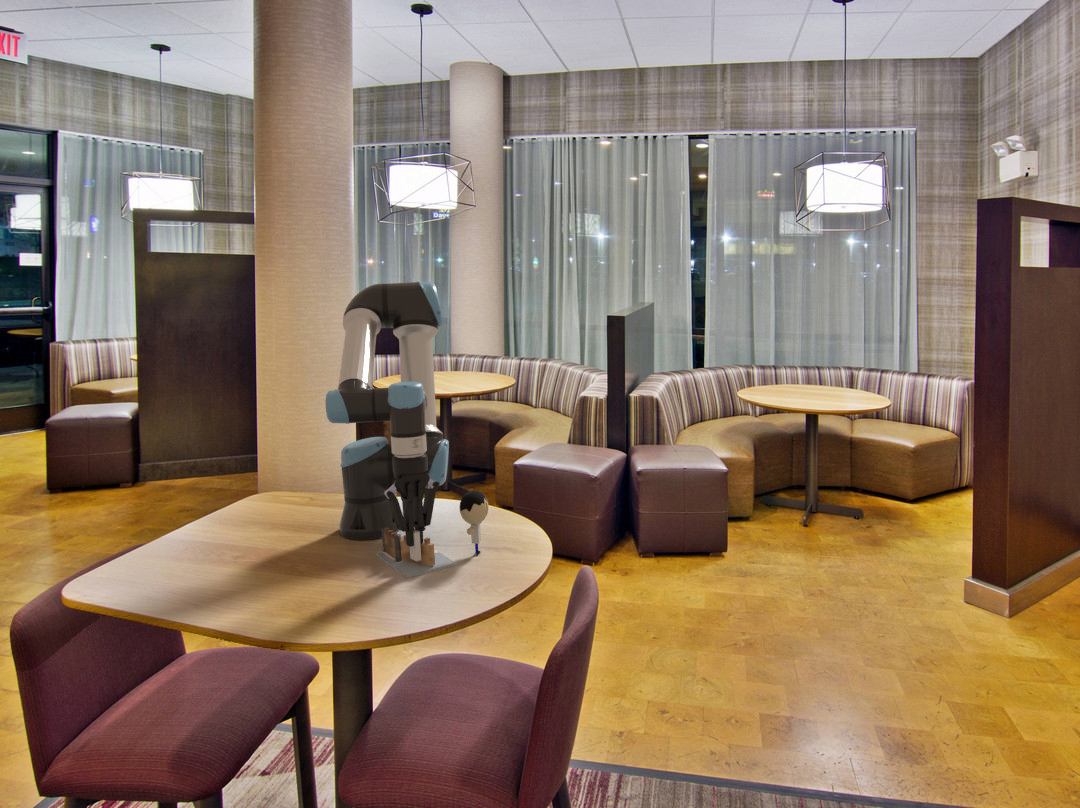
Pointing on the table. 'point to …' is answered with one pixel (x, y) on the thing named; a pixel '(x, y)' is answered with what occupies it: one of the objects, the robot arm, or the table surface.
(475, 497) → the toy
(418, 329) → the robot arm
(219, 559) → the table surface
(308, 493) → the table surface
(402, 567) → the card
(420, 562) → the notched wooden bar
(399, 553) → the fence fixed
